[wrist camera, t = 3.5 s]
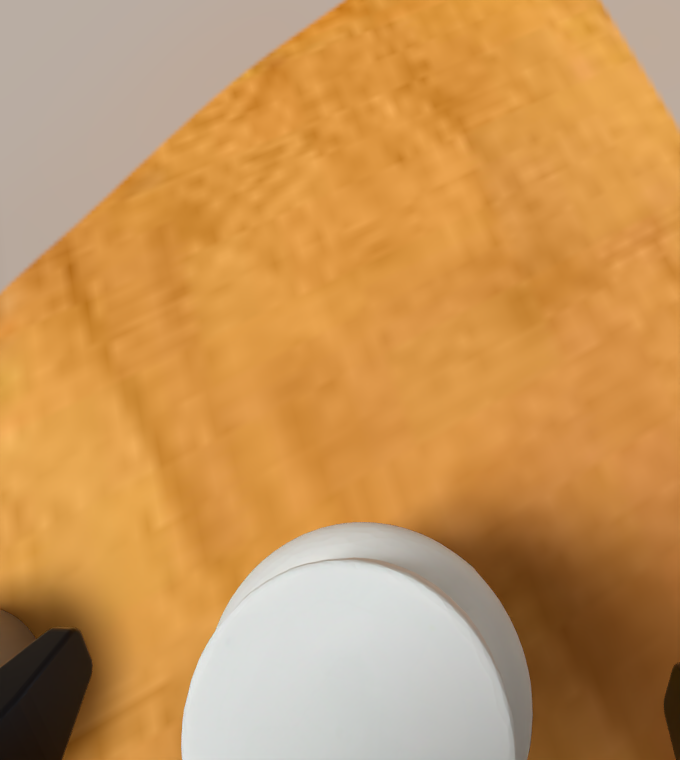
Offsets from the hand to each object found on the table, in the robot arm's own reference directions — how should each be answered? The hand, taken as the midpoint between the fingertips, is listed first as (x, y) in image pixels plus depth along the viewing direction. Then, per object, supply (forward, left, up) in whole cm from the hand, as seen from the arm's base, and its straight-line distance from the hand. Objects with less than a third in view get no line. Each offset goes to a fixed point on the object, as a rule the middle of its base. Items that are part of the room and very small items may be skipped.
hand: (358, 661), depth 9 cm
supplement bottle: (0, 0, -8) cm, 8 cm away
